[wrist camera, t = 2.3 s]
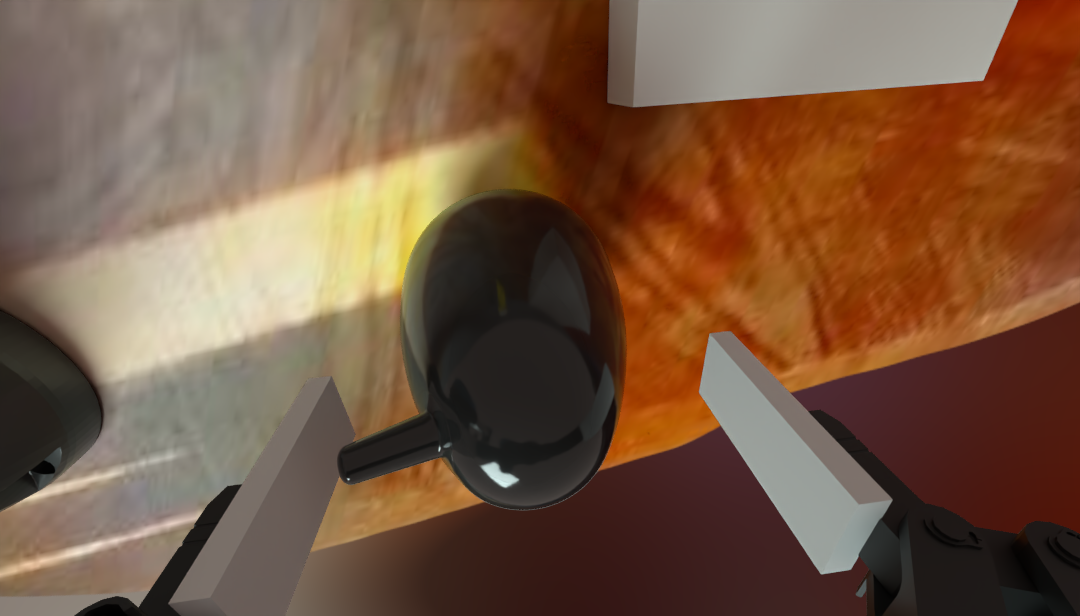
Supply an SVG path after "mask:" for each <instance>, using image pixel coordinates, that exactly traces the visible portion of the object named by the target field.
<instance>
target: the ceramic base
mask: <svg viewBox="0 0 1080 616" xmlns="http://www.w3.org/2000/svg"><path fill="white" fill-rule="evenodd" d="M1017 1H1018V0H610V2H609V48H608V93H607V103H611V104H617V105H622V106H628V107H644V106H657V105H670V104H683V103H696V102H709V101H722V100H735V99H748V98H762V97H775V96H788V95H801V94H814V93H827V92H840V91H853V90H866V89H879V88H892V87H905V86H918V85H931V84H944V83H957V82H970V81H983V80H984V77H985V75H986V73H987V70H988V68H989V66H990V64H991V61H992V59H993V57H994V54H995V52H996V50H997V47H998V45H999V43H1000V40H1001V38H1002V36H1003V34H1004V31H1005V29H1006V27H1007V24H1008V22H1009V20H1010V17H1011V15H1012V13H1013V10H1014V8H1015V6H1016V3H1017Z"/></svg>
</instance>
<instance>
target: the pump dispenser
mask: <svg viewBox="0 0 1080 616" xmlns="http://www.w3.org/2000/svg"><path fill="white" fill-rule="evenodd" d="M400 337H401V348H402V355H403V361H404V366H405V371H406V376H407V380H408V383H409V387H410V391H411V394H412V397H413V400H414V403H415V405H416V408H417V410H418V413H419V414H418V415H416V416H413V417H411V418H409V419H406V420H404V421H402V422H399V423H397V424H395V425H392V426H390V427H388V428H385V429H383V430H381V431H378V432H376V433H374V434H371V435H369V436H366V437H364V438H362V439H359V440H357V441H355V442H352V443H350V444H348V445H345V446H344V447H342V448H341V449H340V451H339V453H338V456H337V467H338V472H339V475H340V477H341V479H342V480H343V482H345V483H346V484H349V485H353V484H356V483H360V482H363V481H366V480H369V479H372V478H376V477H379V476H382V475H385V474H388V473H392V472H395V471H398V470H401V469H404V468H408V467H411V466H414V465H417V464H421V463H424V462H427V461H430V460H434V459H437V458H441V459H442V460H443V462H444V463H445V464H446V466H447V467H448V468H449V469H450V470H451V472H452V473H453V474H454V475H455V476H456V477H457V478H458V480H459V481H460V482H461V483H462V484H463V485H464V486H465V487H466V488H467V489H468V490H469V491H470V492H471V493H473V494H474V495H475V496H477V497H478V498H480V499H481V500H483V501H485V502H487V503H490V504H492V505H495V506H498V507H502V508H507V509H514V510H532V509H539V508H544V507H548V506H551V505H554V504H557V503H559V502H561V501H563V500H565V499H567V498H569V497H571V496H572V495H574V494H575V493H576V492H578V491H579V490H580V489H582V488H583V487H584V486H585V485H586V484H587V483H588V482H589V481H590V480H591V478H592V477H593V476H594V475H595V474H596V472H597V471H598V469H599V468H600V466H601V465H602V463H603V461H604V459H605V457H606V455H607V453H608V451H609V448H610V446H611V443H612V440H613V438H614V435H615V431H616V428H617V425H618V421H619V417H620V412H621V407H622V401H623V394H624V386H625V376H626V357H627V343H626V327H625V318H624V312H623V306H622V301H621V297H620V293H619V289H618V285H617V282H616V279H615V276H614V273H613V270H612V267H611V264H610V262H609V259H608V257H607V254H606V252H605V250H604V248H603V246H602V244H601V243H600V241H599V239H598V238H597V236H596V235H595V233H594V232H593V230H592V229H591V228H590V227H589V225H588V224H587V223H586V222H585V221H584V220H583V219H582V218H581V217H580V216H579V215H578V214H577V213H576V212H574V211H573V210H572V209H570V208H569V207H567V206H566V205H564V204H563V203H561V202H559V201H557V200H555V199H553V198H551V197H548V196H546V195H543V194H539V193H536V192H532V191H526V190H517V189H500V190H492V191H486V192H482V193H478V194H475V195H472V196H469V197H467V198H464V199H462V200H460V201H458V202H456V203H454V204H453V205H451V206H450V207H448V208H447V209H445V210H444V211H442V212H441V213H440V214H439V215H438V216H437V217H435V218H434V219H433V220H432V221H431V222H430V224H429V225H428V226H427V227H426V228H425V230H424V231H423V232H422V234H421V235H420V237H419V238H418V240H417V242H416V244H415V246H414V248H413V250H412V252H411V255H410V257H409V260H408V263H407V266H406V270H405V274H404V279H403V285H402V295H401V306H400Z"/></svg>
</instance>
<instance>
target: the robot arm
mask: <svg viewBox="0 0 1080 616" xmlns="http://www.w3.org/2000/svg"><path fill="white" fill-rule="evenodd" d="M699 393H700V395H701V396H702V398H703V399H704V401H705V402H706V404H707V405H708V407H709V408H710V410H711V411H712V413H713V414H714V416H715V417H716V419H717V420H718V422H719V423H720V425H721V426H722V427H723V429H724V430H725V432H726V433H727V435H728V436H729V438H730V439H731V441H732V442H733V444H734V445H735V447H736V448H737V450H738V451H739V453H740V454H741V456H742V457H743V459H744V460H745V461H746V463H747V465H748V466H749V468H750V469H751V471H752V472H753V474H754V475H755V476H756V478H757V479H758V481H759V483H760V484H761V485H762V487H763V489H764V490H765V492H766V493H767V494H768V496H769V497H770V499H771V500H772V502H773V503H774V505H775V506H776V508H777V509H778V511H779V512H780V514H781V515H782V517H783V518H784V520H785V521H786V523H787V524H788V526H789V527H790V529H791V530H792V532H793V533H794V535H795V536H796V538H797V539H798V541H799V542H800V544H801V545H802V546H803V548H804V549H805V551H806V552H807V554H808V556H809V557H810V558H811V560H812V561H813V563H814V564H815V566H816V567H817V569H818V570H819V572H820V573H821V574H826V573H832V572H839V571H846V570H851V568H852V566H853V564H854V563H855V561H856V560H857V558H858V557H859V556H860V557H861V559H862V560H863V561H864V563H865V564H866V565H867V567H868V568H869V571H868V572H867V574H866V576H865V577H864V579H863V580H862V582H861V583H860V585H859V586H858V589H857V592H856V595H857V596H859V597H862V596H863V594H864V592H865V591H866V593H867V616H1080V534H1079V533H1077V532H1075V531H1073V530H1071V529H1069V528H1066V527H1063V526H1060V525H1057V524H1054V523H1051V522H1041V521H1035V522H1032V523H1029V524H1027V525H1026V526H1025V527H1024V528H1023V529H1022V530H1021V531H1020V532H1019V533H1018V534H1015V533H1009V532H1003V531H996V530H990V529H984V528H978V527H974V526H973V525H972V524H970V523H969V522H967V521H966V520H965V519H963V518H962V517H960V516H959V515H957V514H955V513H953V512H951V511H949V510H947V509H945V508H942V507H938V506H935V505H931V504H925V503H924V502H923V501H922V500H920V499H919V498H918V497H917V496H916V495H915V494H914V493H913V492H912V491H911V490H910V489H909V488H908V487H907V486H906V485H905V484H904V483H903V482H902V481H901V480H900V479H899V478H898V477H897V476H895V475H894V474H893V473H892V472H891V471H890V470H889V469H888V468H887V467H886V466H885V465H884V464H883V463H882V462H881V461H880V460H879V459H878V458H877V457H876V456H875V455H874V454H873V453H872V452H869V451H868V448H867V447H865V445H863V443H861V442H860V441H859V440H856V438H855V436H854V435H853V434H852V433H851V432H850V431H849V430H848V429H847V428H846V427H845V426H844V425H843V424H842V423H841V422H839V421H838V420H836V419H835V418H833V417H831V416H829V415H828V414H826V413H825V412H823V411H821V410H815V411H807V410H806V409H805V408H804V407H803V406H802V405H801V404H800V403H799V402H798V401H797V400H796V399H795V398H794V397H793V396H792V395H791V393H790V392H789V391H788V390H787V389H786V388H785V387H784V386H783V385H782V384H781V383H780V382H779V381H778V380H777V379H776V378H775V377H774V376H773V375H772V374H771V373H770V372H769V371H768V370H767V369H766V368H765V367H764V366H763V364H762V363H761V362H760V361H759V360H758V359H757V358H756V357H755V356H754V355H753V354H752V353H751V352H750V351H749V350H748V349H747V348H746V347H745V346H744V345H743V344H742V343H741V342H740V341H739V340H738V339H737V338H736V336H735V335H734V334H733V333H732V332H731V331H728V332H719V333H710V334H709V340H708V345H707V351H706V356H705V362H704V368H703V373H702V379H701V384H700V390H699ZM100 427H101V412H100V407H99V404H98V400H97V398H96V396H95V393H94V391H93V389H92V388H91V386H90V384H89V383H88V381H87V380H86V378H85V377H84V376H83V374H82V373H81V372H80V370H79V369H78V368H77V367H76V366H75V365H74V364H73V363H72V362H71V361H70V360H69V359H68V357H67V356H65V355H64V354H63V353H62V352H61V351H60V350H59V349H58V348H56V347H55V346H54V345H53V344H52V343H50V342H49V341H48V340H47V339H45V338H44V337H42V336H41V335H40V334H38V333H37V332H35V331H34V330H32V329H31V328H29V327H28V326H26V325H25V324H23V323H21V322H20V321H18V320H17V319H15V318H13V317H11V316H9V315H8V314H6V313H4V312H2V311H0V512H1V511H3V510H5V509H7V508H9V507H11V506H12V505H14V504H16V503H18V502H20V501H21V500H23V499H25V498H27V497H29V496H30V495H32V494H34V493H36V492H38V491H39V490H41V489H43V488H45V487H46V486H48V485H49V484H51V483H52V482H53V481H55V480H56V479H57V478H59V477H60V476H61V475H62V474H63V473H64V472H65V471H66V470H68V469H69V468H70V467H71V466H72V465H73V464H74V463H75V462H76V461H77V460H78V459H79V458H81V457H82V456H83V455H84V454H85V453H86V452H87V451H88V450H89V449H90V448H91V447H92V445H93V444H94V442H95V441H96V439H97V437H98V434H99V431H100ZM354 437H355V432H354V429H353V427H352V425H351V422H350V420H349V417H348V415H347V412H346V410H345V408H344V405H343V403H342V400H341V398H340V395H339V393H338V390H337V388H336V386H335V383H334V381H333V378H332V376H328V377H319V378H310V379H308V380H307V381H306V383H305V385H304V386H303V388H302V389H301V391H300V393H299V394H298V396H297V397H296V399H295V401H294V402H293V404H292V405H291V407H290V409H289V410H288V412H287V413H286V415H285V417H284V418H283V420H282V421H281V423H280V425H279V426H278V428H277V430H276V431H275V433H274V434H273V436H272V438H271V439H270V441H269V442H268V444H267V446H266V447H265V449H264V450H263V452H262V454H261V455H260V457H259V458H258V460H257V462H256V463H255V465H254V466H253V468H252V470H251V471H250V473H249V475H248V476H247V478H246V479H245V481H244V483H243V484H241V485H233V486H227V487H226V488H225V489H224V490H223V491H222V492H221V493H220V494H219V495H218V496H217V497H215V498H214V499H213V500H212V501H211V502H210V503H209V504H208V505H207V507H206V508H205V510H204V511H203V513H202V514H201V516H200V517H199V518H198V520H197V521H196V523H195V524H194V529H191V530H190V532H189V533H188V535H187V536H186V538H185V539H184V541H183V542H182V543H183V545H182V546H181V547H179V548H178V550H177V551H176V553H175V554H174V556H173V557H172V559H171V560H170V561H169V563H168V564H167V566H166V567H165V569H164V570H163V572H162V573H161V575H160V576H159V578H158V579H157V581H156V582H155V584H154V585H153V587H152V588H151V590H150V591H149V593H148V594H147V596H146V597H145V599H144V600H143V602H142V603H141V604H140V606H139V607H137V606H136V605H135V604H134V603H132V602H131V601H130V600H129V599H128V598H123V597H119V596H116V597H112V598H107V599H103V600H100V601H98V602H96V603H94V604H92V605H91V606H88V607H87V608H85V609H83V610H81V611H80V612H79V613H77V614H76V615H75V616H285V614H286V612H287V609H288V607H289V604H290V602H291V599H292V596H293V594H294V591H295V589H296V586H297V584H298V581H299V578H300V576H301V573H302V571H303V568H304V566H305V563H306V560H307V558H308V555H309V553H310V550H311V548H312V545H313V542H314V540H315V537H316V535H317V532H318V530H319V527H320V524H321V522H322V519H323V517H324V514H325V512H326V509H327V506H328V504H329V501H330V499H331V496H332V494H333V491H334V488H335V486H336V483H337V481H338V478H339V476H340V475H339V472H338V467H337V456H338V453H339V451H340V449H341V448H342V447H344V446H345V445H348V444H350V443H352V442H353V439H354Z"/></svg>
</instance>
